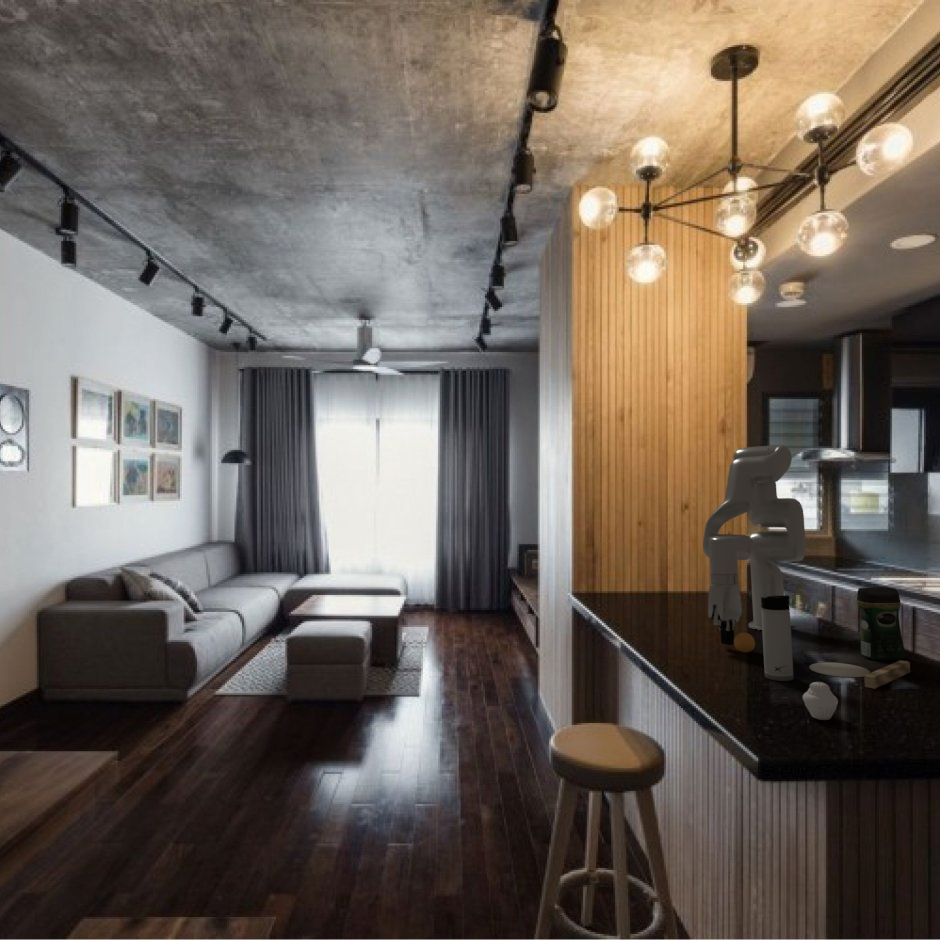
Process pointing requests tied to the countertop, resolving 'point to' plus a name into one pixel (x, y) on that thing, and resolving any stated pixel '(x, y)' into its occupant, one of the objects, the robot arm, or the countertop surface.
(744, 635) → the ball
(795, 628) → the countertop surface
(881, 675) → the stopper strip
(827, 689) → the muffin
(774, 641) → the travel mug
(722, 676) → the countertop surface
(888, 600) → the coffee jar
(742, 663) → the countertop surface
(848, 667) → the disc
